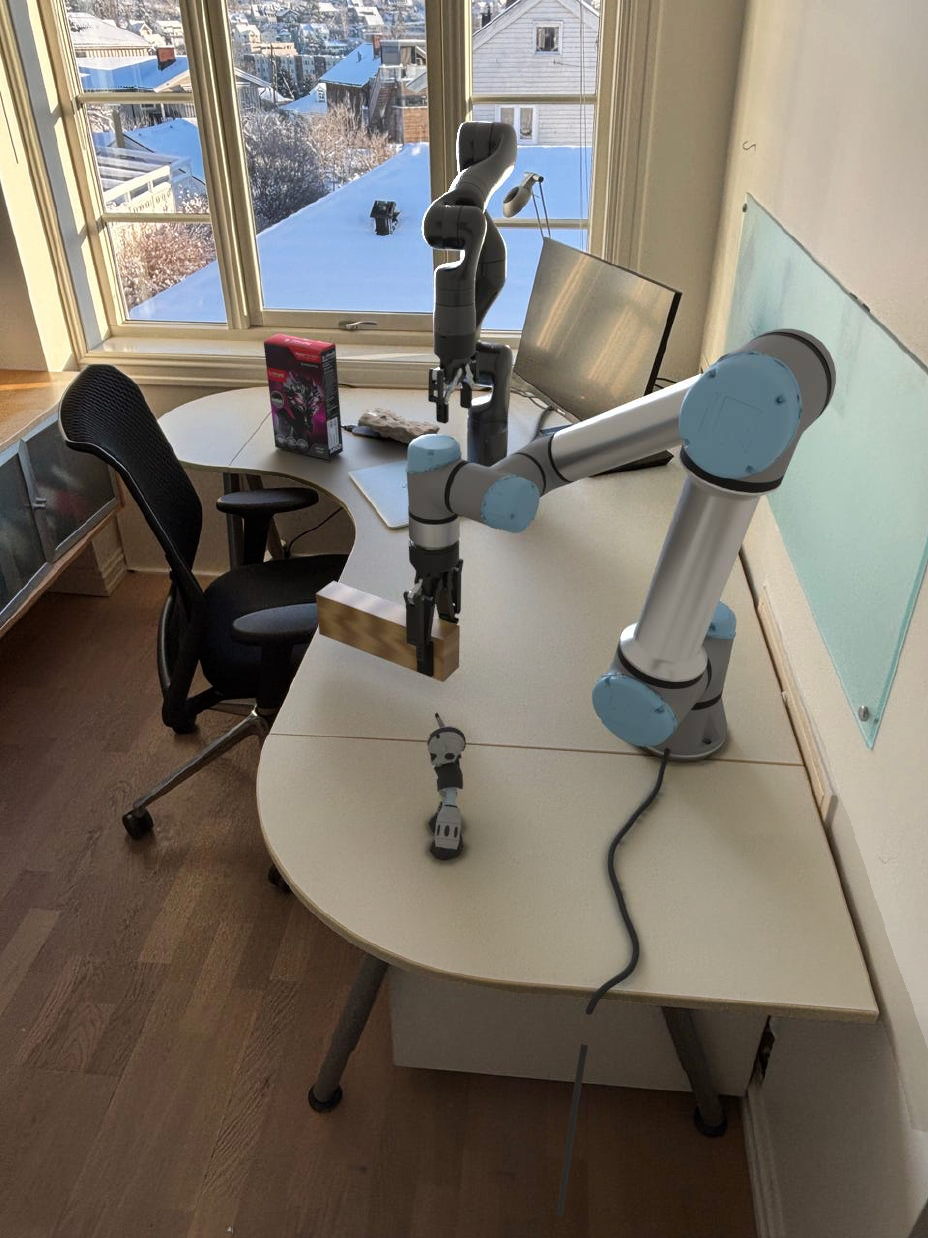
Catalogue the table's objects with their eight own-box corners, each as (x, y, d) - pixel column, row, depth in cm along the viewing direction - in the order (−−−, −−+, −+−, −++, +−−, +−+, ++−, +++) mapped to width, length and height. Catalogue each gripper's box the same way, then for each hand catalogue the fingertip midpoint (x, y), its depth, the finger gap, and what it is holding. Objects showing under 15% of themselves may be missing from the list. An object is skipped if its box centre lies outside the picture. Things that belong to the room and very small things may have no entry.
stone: (342, 431, 232) (346, 408, 230) (364, 423, 246) (368, 401, 243) (419, 455, 229) (424, 432, 226) (437, 445, 242) (442, 423, 240)
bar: (459, 667, 150) (459, 625, 145) (443, 682, 147) (443, 640, 142) (336, 620, 160) (333, 580, 156) (319, 634, 157) (315, 593, 152)
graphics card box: (273, 448, 231) (260, 339, 216) (289, 438, 236) (278, 332, 221) (329, 461, 225) (320, 351, 210) (345, 451, 230) (337, 342, 215)
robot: (468, 894, 116) (470, 778, 105) (429, 895, 116) (427, 779, 105) (461, 784, 133) (462, 674, 121) (427, 785, 132) (425, 675, 121)
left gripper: (456, 314, 169) (456, 399, 178) (414, 334, 159) (416, 423, 168) (492, 320, 166) (490, 406, 175) (452, 341, 156) (452, 431, 165)
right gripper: (444, 508, 144) (444, 631, 157) (378, 557, 131) (383, 686, 144) (486, 520, 141) (482, 644, 154) (422, 572, 128) (424, 702, 141)
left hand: (454, 414), depth 172 cm, fingers open, 8 cm apart
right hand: (434, 664), depth 149 cm, fingers closed on bar, 5 cm apart
